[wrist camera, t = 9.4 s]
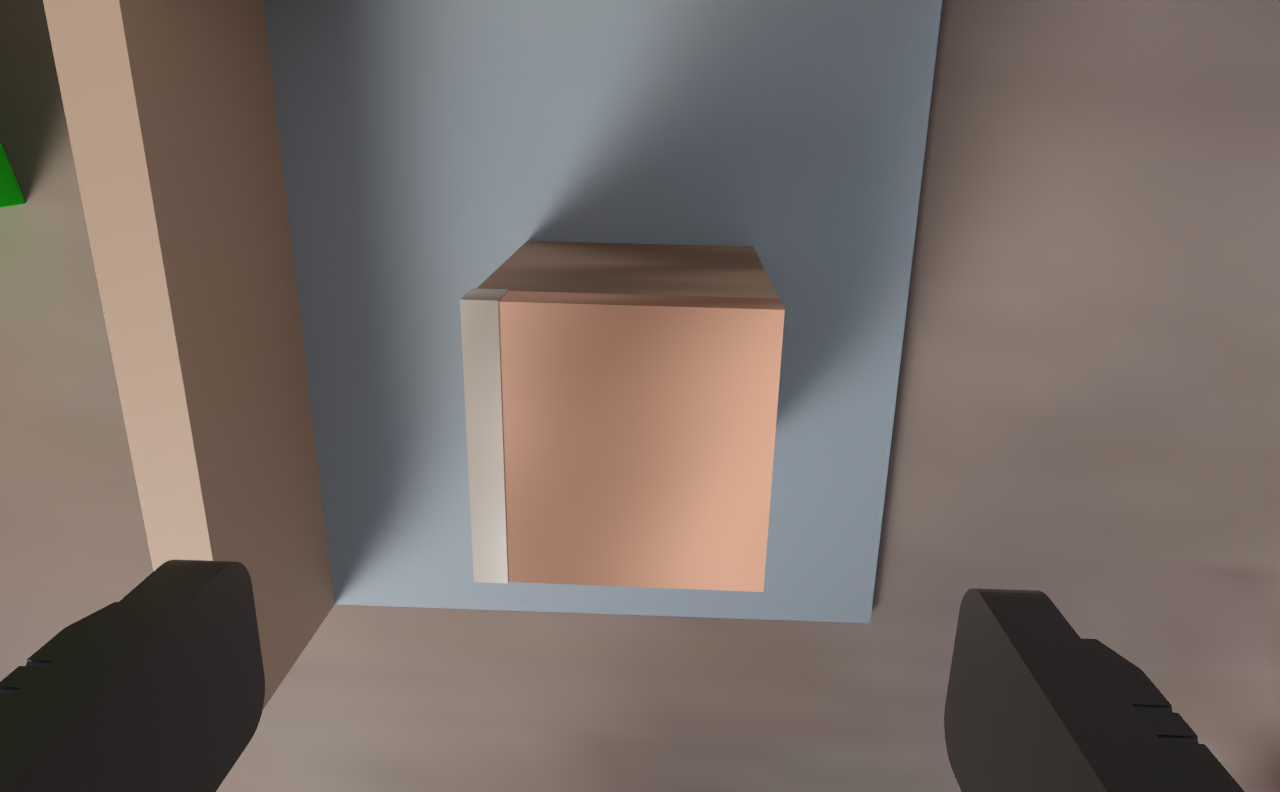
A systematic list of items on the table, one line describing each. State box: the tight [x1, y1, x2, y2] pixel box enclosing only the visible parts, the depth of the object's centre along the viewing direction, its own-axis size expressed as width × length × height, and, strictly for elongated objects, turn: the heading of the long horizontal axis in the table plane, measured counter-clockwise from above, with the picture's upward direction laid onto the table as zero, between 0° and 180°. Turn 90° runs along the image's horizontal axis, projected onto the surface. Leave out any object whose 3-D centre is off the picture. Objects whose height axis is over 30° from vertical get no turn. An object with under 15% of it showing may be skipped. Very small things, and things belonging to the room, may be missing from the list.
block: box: [460, 241, 785, 592], centre depth 17 cm, size 5×5×6 cm
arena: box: [43, 0, 942, 710], centre depth 17 cm, size 16×15×5 cm
